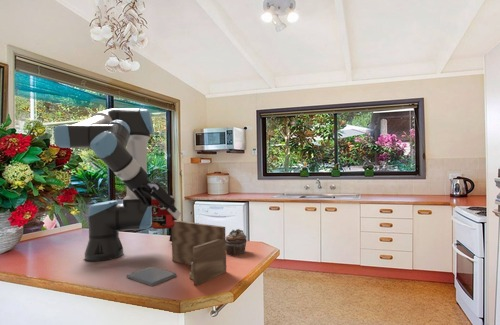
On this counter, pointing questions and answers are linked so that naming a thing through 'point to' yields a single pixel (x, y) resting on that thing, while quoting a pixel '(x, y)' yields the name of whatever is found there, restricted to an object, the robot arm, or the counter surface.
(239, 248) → the cupcake
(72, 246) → the counter surface
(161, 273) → the slate tile
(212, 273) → the walnut rack
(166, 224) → the canned food
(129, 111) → the robot arm
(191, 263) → the offcut stack
